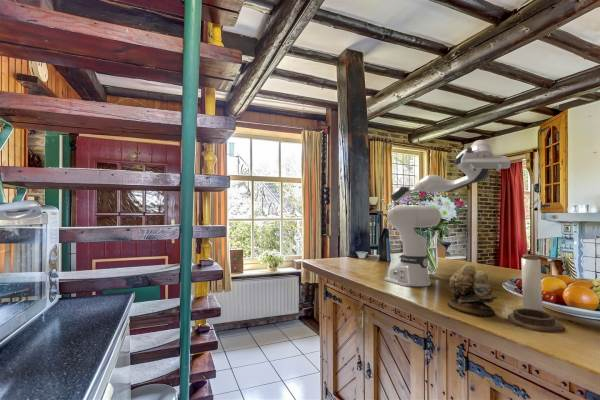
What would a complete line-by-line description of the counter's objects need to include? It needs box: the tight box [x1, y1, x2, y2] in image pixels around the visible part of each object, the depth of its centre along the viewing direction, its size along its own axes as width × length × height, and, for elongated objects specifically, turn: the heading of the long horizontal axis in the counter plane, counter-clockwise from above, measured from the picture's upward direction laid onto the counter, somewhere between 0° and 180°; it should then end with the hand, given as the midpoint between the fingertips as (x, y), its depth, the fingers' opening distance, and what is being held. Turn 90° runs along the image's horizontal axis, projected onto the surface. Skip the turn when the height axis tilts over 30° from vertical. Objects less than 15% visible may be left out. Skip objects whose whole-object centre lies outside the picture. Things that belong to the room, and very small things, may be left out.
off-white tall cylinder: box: [520, 254, 543, 311], centre depth 108 cm, size 6×6×20 cm
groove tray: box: [507, 307, 563, 333], centre depth 98 cm, size 14×14×3 cm
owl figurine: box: [447, 263, 498, 318], centre depth 111 cm, size 18×12×17 cm, turn 25°
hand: (486, 169), depth 138 cm, fingers open, 8 cm apart
